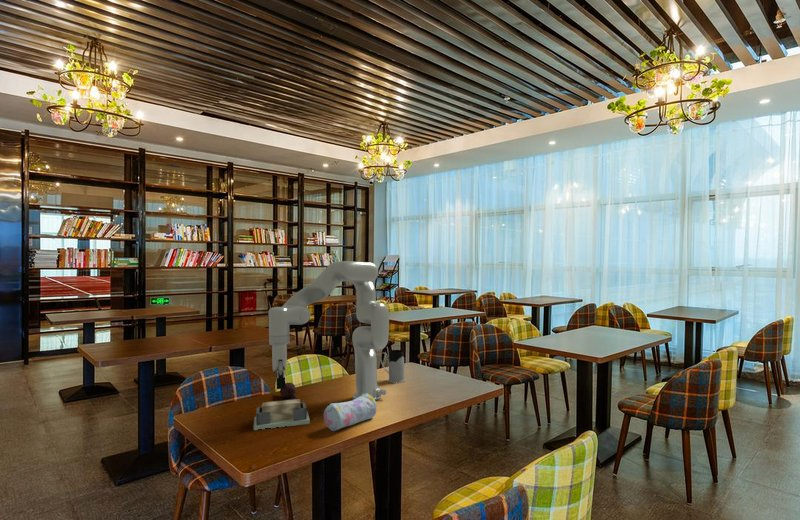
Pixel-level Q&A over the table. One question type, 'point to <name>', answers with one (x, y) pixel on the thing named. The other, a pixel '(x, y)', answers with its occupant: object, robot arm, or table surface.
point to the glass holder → (395, 366)
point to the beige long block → (281, 409)
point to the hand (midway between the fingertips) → (280, 385)
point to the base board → (281, 423)
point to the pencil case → (349, 412)
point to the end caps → (265, 417)
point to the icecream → (289, 391)
